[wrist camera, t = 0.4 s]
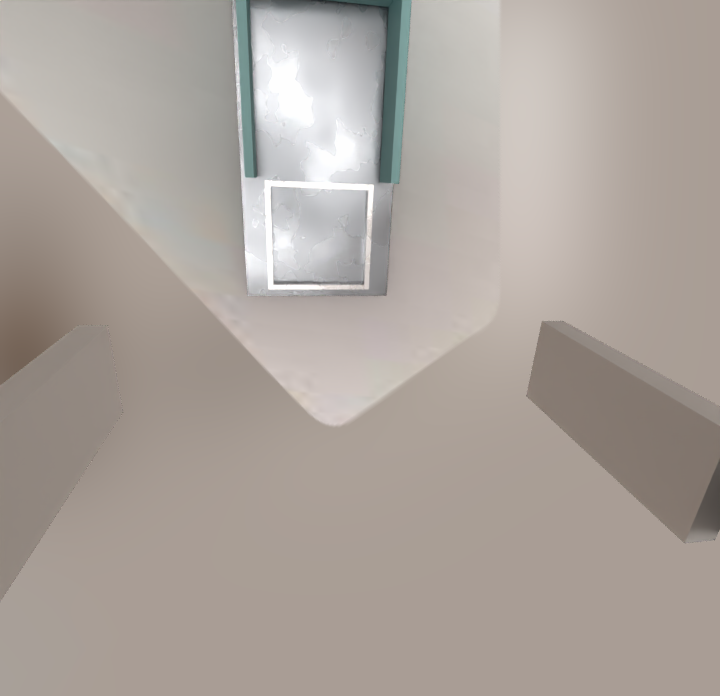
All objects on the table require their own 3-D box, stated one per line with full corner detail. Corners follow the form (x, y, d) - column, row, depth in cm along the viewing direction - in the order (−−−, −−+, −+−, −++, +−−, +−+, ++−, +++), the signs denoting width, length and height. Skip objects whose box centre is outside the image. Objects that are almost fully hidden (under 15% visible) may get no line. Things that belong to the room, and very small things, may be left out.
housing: (239, -21, 29) (233, -49, 26) (397, -3, 31) (413, -27, 27) (248, 176, 34) (244, 177, 30) (386, 182, 35) (398, 183, 32)
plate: (232, -20, 30) (228, -34, 28) (401, -1, 32) (408, -13, 30) (248, 292, 38) (246, 299, 36) (383, 292, 40) (388, 298, 38)
